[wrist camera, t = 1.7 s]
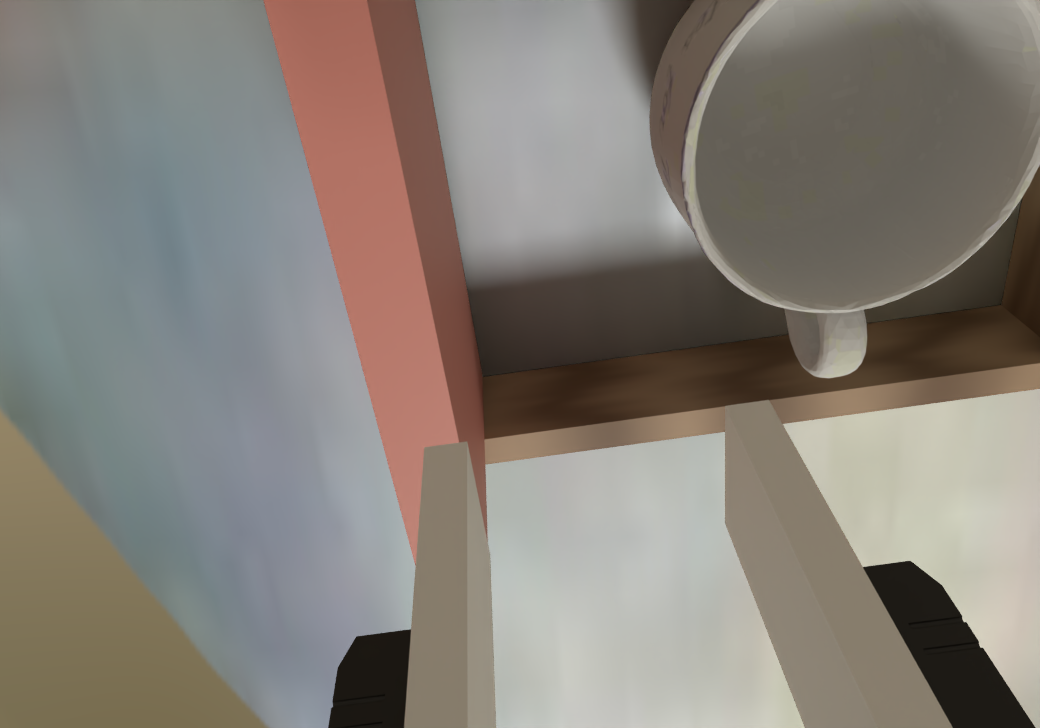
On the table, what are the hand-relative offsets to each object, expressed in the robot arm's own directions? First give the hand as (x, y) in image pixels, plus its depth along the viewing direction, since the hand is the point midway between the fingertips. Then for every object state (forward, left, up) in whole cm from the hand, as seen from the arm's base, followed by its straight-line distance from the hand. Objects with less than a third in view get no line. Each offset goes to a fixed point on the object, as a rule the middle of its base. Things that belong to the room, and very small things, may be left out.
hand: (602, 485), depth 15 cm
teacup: (-9, 0, -19) cm, 21 cm away
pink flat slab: (+4, 0, -18) cm, 19 cm away
